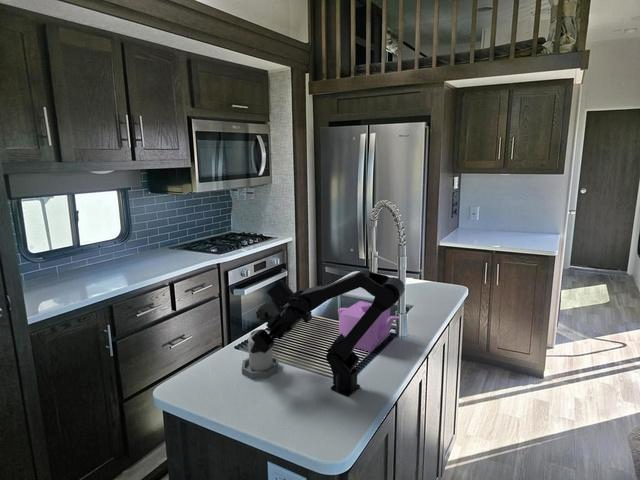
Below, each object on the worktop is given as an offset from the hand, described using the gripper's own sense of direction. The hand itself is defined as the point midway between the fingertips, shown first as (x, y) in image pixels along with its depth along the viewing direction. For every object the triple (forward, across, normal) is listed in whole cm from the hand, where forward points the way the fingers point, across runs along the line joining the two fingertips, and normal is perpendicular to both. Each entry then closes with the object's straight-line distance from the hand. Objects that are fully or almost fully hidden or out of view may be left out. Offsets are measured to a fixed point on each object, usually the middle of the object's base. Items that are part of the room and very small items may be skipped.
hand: (259, 345), depth 135 cm
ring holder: (+6, 0, +6) cm, 8 cm away
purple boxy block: (-12, -32, +25) cm, 43 cm away
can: (+5, 0, +6) cm, 8 cm away
